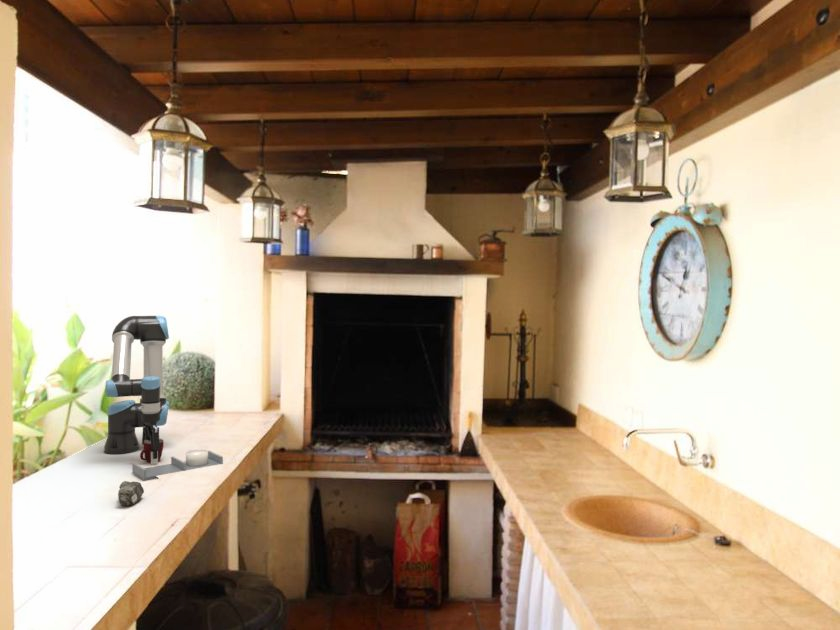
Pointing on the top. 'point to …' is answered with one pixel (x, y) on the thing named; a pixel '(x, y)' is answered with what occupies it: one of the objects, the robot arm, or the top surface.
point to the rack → (172, 467)
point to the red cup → (148, 448)
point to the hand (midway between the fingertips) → (150, 463)
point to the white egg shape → (197, 458)
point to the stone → (130, 493)
